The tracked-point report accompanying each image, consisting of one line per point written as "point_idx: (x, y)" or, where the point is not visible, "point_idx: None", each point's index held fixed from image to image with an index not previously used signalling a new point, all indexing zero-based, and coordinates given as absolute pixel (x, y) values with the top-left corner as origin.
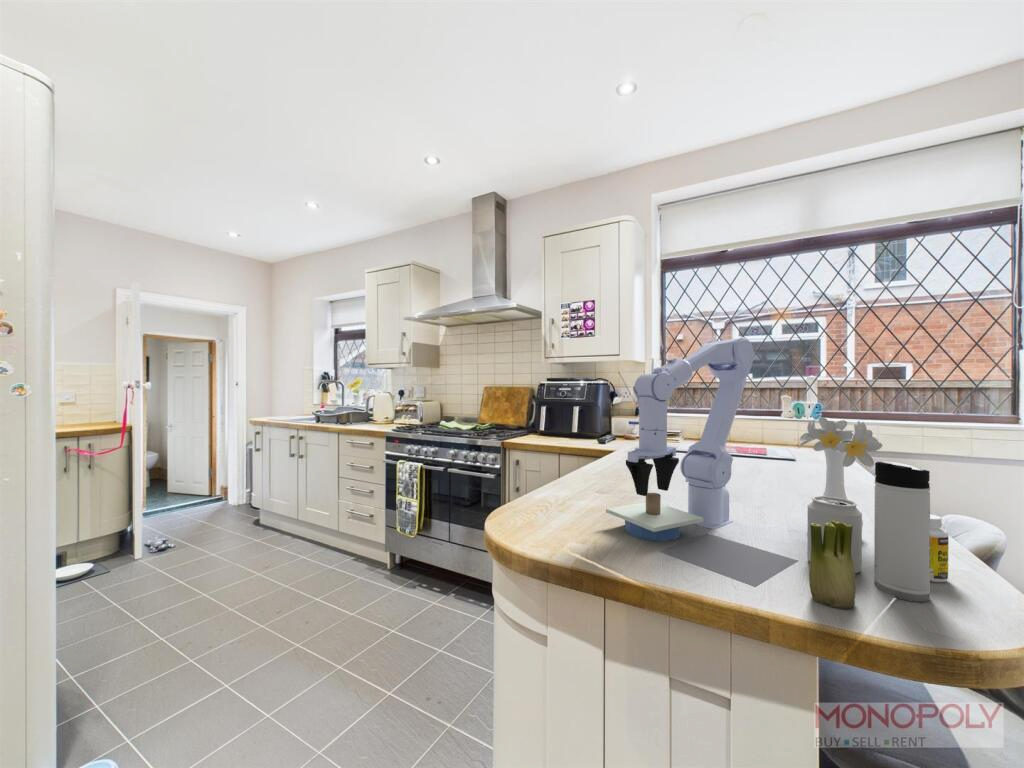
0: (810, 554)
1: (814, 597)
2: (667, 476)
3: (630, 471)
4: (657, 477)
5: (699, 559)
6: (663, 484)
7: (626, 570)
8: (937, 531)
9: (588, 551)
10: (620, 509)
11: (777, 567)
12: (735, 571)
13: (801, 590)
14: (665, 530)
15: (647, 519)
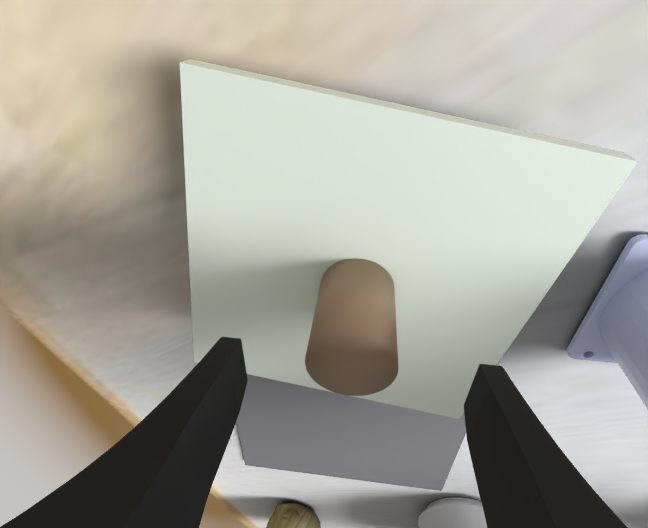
0: (437, 523)
1: (275, 509)
2: (490, 520)
3: (70, 486)
4: (513, 441)
5: (266, 395)
6: (477, 430)
7: (63, 318)
8: None
9: (7, 187)
10: (256, 143)
11: (366, 475)
12: (275, 442)
13: (309, 490)
14: None
15: (247, 314)
